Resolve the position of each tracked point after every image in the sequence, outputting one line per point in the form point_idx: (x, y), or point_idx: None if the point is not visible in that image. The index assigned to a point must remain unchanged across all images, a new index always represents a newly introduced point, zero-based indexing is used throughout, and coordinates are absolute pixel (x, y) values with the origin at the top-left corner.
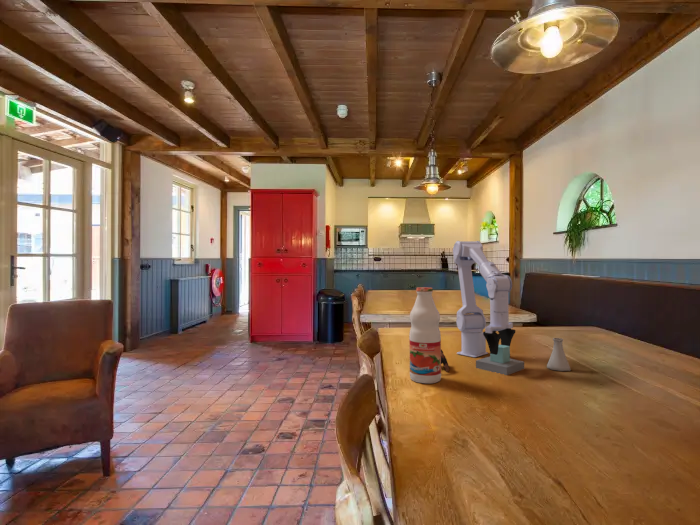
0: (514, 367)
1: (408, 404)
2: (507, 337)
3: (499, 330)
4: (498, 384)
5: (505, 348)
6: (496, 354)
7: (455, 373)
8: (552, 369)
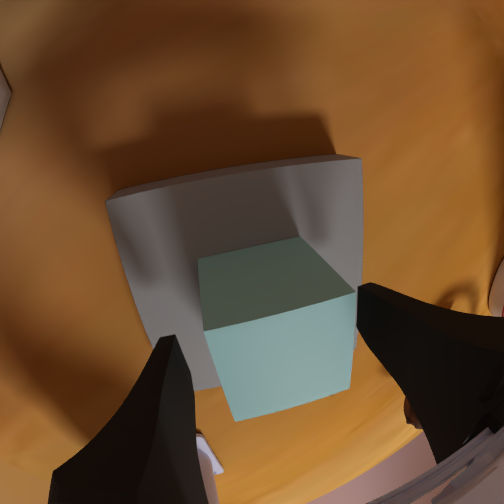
0: (254, 167)
1: None
2: (172, 445)
3: (386, 496)
4: (456, 105)
5: (299, 300)
6: (368, 283)
7: (447, 291)
8: (9, 93)
